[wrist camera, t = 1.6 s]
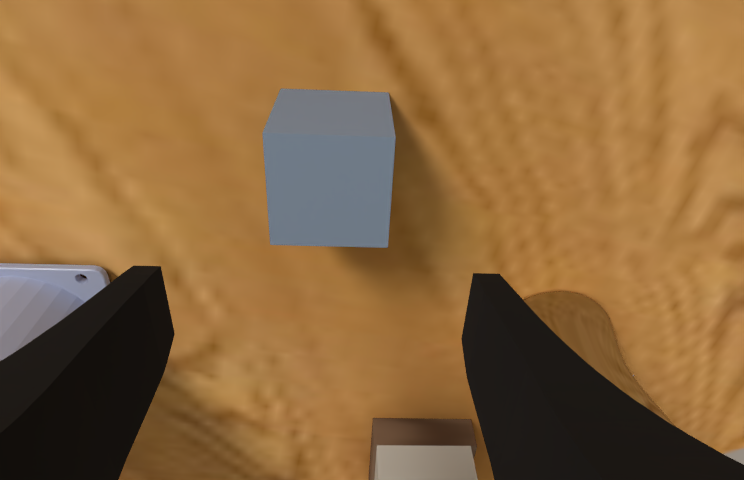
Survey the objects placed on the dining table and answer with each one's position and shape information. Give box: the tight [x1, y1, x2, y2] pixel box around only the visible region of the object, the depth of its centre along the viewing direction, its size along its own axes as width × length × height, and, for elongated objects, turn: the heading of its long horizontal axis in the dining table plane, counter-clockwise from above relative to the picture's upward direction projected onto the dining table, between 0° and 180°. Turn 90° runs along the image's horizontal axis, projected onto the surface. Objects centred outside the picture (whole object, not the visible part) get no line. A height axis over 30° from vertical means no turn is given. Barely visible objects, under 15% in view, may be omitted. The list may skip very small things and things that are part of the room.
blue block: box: [263, 89, 396, 248], centre depth 19 cm, size 4×4×4 cm
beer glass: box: [523, 291, 676, 427], centre depth 20 cm, size 7×7×15 cm
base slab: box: [369, 418, 477, 480], centre depth 31 cm, size 6×6×2 cm
